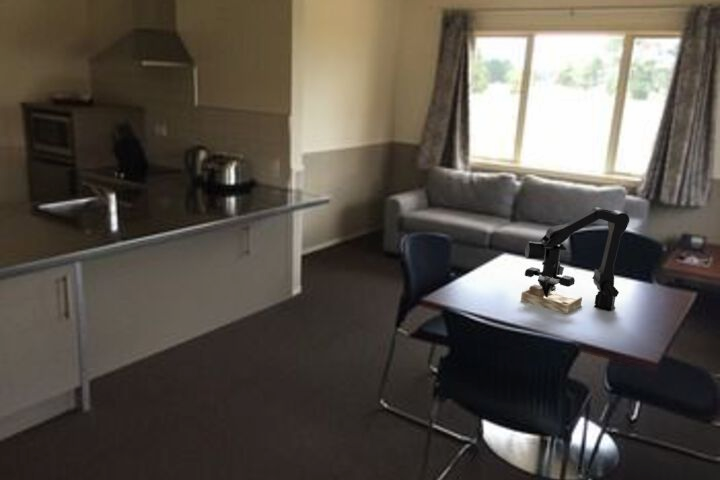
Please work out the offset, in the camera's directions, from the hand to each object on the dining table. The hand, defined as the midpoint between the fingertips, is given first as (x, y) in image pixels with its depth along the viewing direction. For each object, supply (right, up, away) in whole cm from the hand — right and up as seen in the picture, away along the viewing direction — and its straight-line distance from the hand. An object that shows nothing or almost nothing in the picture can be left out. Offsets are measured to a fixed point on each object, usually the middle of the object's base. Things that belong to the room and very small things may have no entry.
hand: (546, 296), depth 245 cm
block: (-4, 0, +3) cm, 4 cm away
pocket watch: (+6, +2, +21) cm, 22 cm away
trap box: (+3, -3, +3) cm, 5 cm away
